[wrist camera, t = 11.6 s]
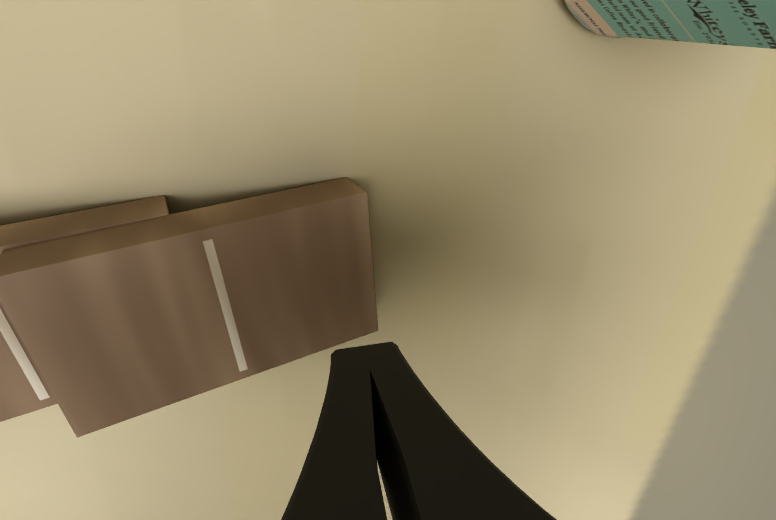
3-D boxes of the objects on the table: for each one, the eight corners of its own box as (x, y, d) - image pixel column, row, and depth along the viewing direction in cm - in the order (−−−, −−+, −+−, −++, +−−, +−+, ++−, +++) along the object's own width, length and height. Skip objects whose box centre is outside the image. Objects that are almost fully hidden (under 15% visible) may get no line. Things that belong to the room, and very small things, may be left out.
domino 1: (167, 213, 12) (-319, 310, 9) (210, 354, 15) (-161, 473, 11) (164, 194, 14) (-262, 274, 10) (204, 328, 16) (-132, 427, 13)
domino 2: (367, 192, 13) (-13, 279, 10) (378, 330, 16) (77, 437, 12) (345, 177, 14) (3, 249, 11) (359, 306, 17) (82, 398, 14)
